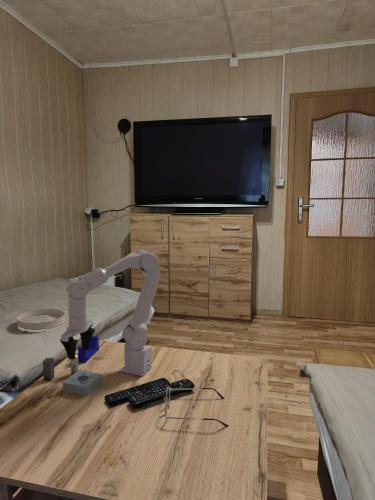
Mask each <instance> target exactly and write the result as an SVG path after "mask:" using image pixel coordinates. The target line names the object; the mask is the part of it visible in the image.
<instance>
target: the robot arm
mask: <svg viewBox="0 0 375 500" xmlns="http://www.w3.org/2000/svg"><path fill="white" fill-rule="evenodd" d="M160 261H161V260H160V259H159V257H158V256H157V255H156V254H155V253H154V252H151V251H147V250H146V249H145V250H144V249H143V248H141V249H138V250H136V251H133V252H131V253H129V254H128V255H126V256H124V257H121V258H120V259H119V260H117V261H115V262H114V263H112V264H110V265H108V266H107V267H105V268H102V267H97V268H96V267H93V268H92V269H91V271H89V272H87V273H85V274H82V275H81V274H80V275H78V278H72V279H71V280H69V281H68V282H67V285H66V287H65V289H66V292H67V294H68V298H67V299H68V303H67V304H68V326H66V331H65V332H64V333H62V334H61V335H60V336H61V337H60V339H59V340H60V343H61V344H62V346H63V348H64V350H65V353H66V355H67V358H68V359H69V360H70V359H73V360H74V359H75V354H77V353H76V349H77V344H78V342H79V340H78V339H75V338H74V337H75V336H77V335H80V340H81V341H80V343H81V346H82V349H84V350H88V349H89V346H90V341H91V338H92V336H94V333H95V332H96V329H95V328H94V321H93V320H88V316H87V314H88V313H87V295H88V293H89V292H91V291H93V290H95V289H97V288H98V287H100V286H103V285H104V284H106V283H107V282H108V280H109V278H110V277H112V276H114V275H117V274H119V273H120V272H122V271H125V270H127V269H130V268H131V269H132V268H133V269H139V270H140V271H141V272H142V275H144V277H145V278H144V280H143V283H142V286H141V288H140V289H141V290H140V293H139V296H138V300H137V302H136V305H135V309H134V311H133V314H132V317H131V318H130V319H129V320H128V322H127V324H126V326H125V327H124V328H123V329H122V332H121V335H122V338H123V340H125V343H124V352H123V353H124V366H123V367H122V368H120V369H119V372H120V373H125V374H131V375H135V376H139V377H143V376H145V375H146V373H147V372H148V371H149V370H151V369H152V367H153V365H152V349H151V348H150V347H147V346H146V344H147V341H148V340H147V339H148V338H147V333H148V326H147V321H148V318H149V316H150V315H149V314H150V312H151V309H152V306H153V302H154V299H155V296H156V293H157V290H158V287H159V284H160V280H161V278H162V277H161V276H162V275H161V269H160Z"/></svg>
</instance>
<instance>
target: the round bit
mask: <svg viewBox="0 0 375 500" xmlns="http://www.w3.org/2000/svg"><path fill="white" fill-rule="evenodd" d="M69 360H70V363H69V364H70V376H72V375H73V374H75V373H76V372H77V371H79V362H78V353H76V354H75V359H74V360H73V359H69Z"/></svg>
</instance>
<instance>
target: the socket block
mask: <svg viewBox="0 0 375 500" xmlns="http://www.w3.org/2000/svg"><path fill="white" fill-rule="evenodd" d="M102 384H103V374H102V373H97V372H94V371H88V370H83V369H78V371H77V372H76V373H75V374H73V375H70V376H69V377H68V378H66V379H65V380H63V381H62V392H64V393H65V392H66V393H70V394H74V395H79V396H83V397H87V396H89V394H91V393H92V392H93V391H94V390H96V389H97V388H98V387H99V386H100V385H102Z"/></svg>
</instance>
